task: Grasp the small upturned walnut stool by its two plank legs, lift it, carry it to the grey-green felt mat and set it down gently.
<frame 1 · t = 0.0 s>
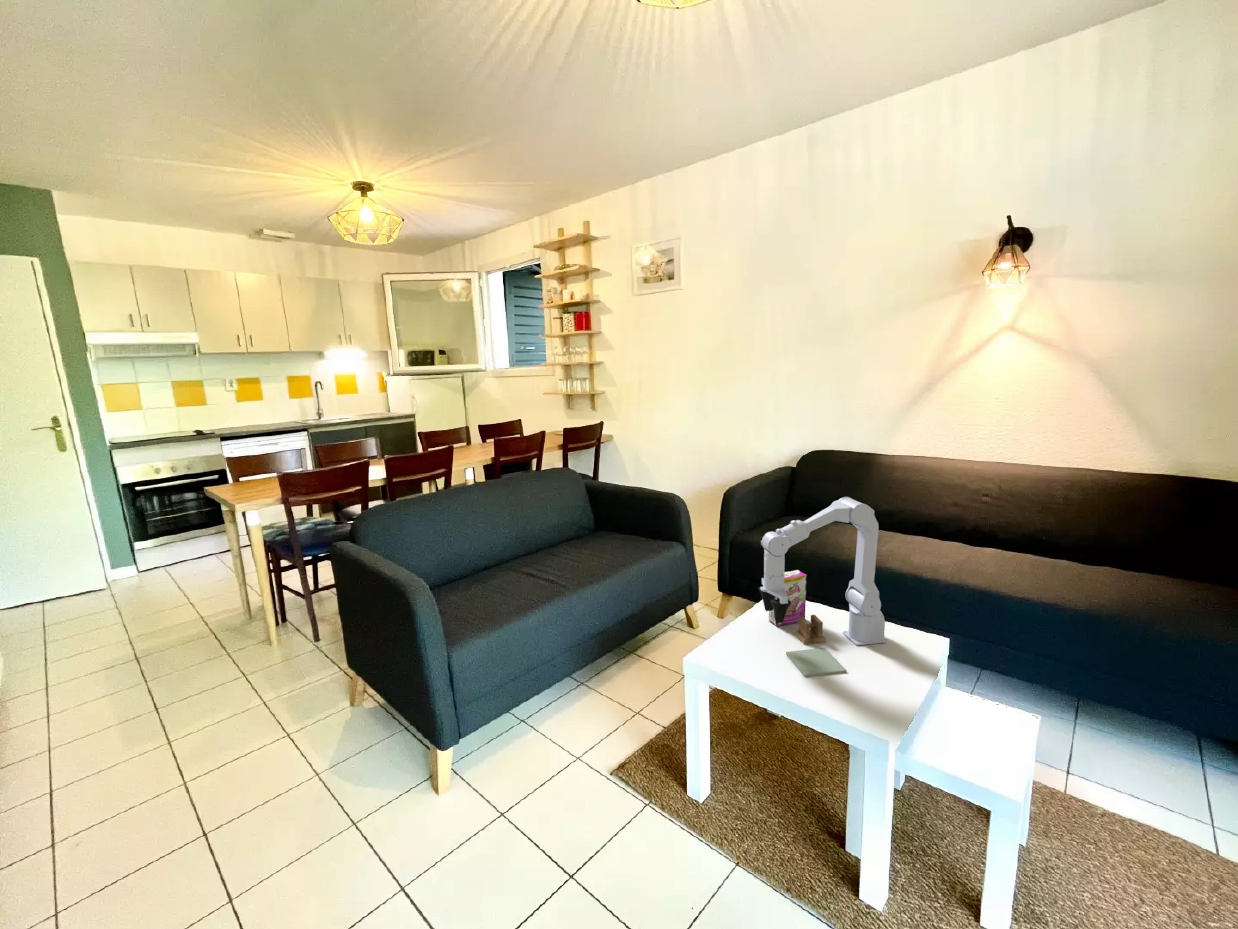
hand: (774, 616, 156), 10 cm above the table, fingers open, 7 cm apart
mat: (815, 662, 149), on the table
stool: (810, 638, 162), on the table
candy bar box: (787, 621, 173), on the table
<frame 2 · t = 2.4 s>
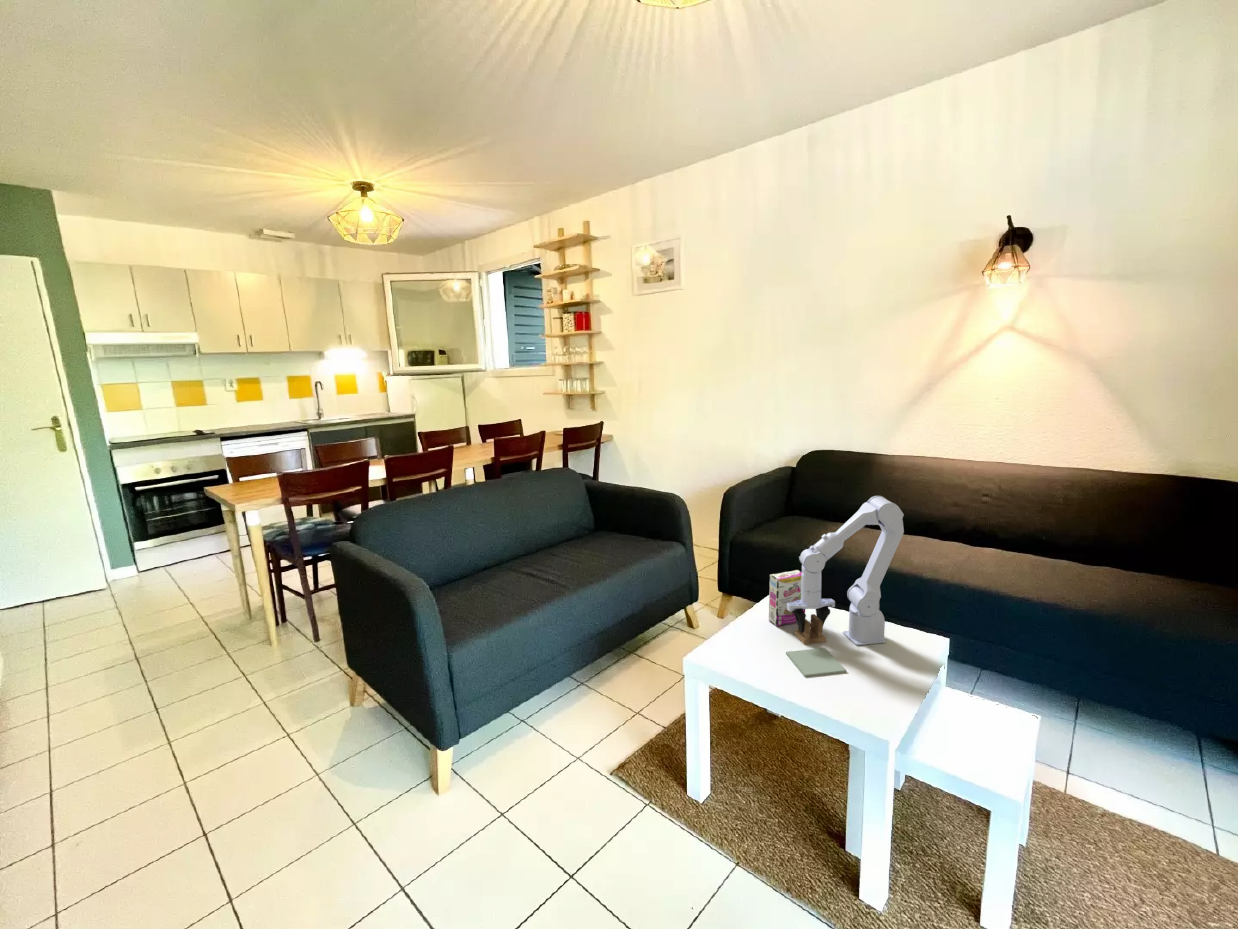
hand: (810, 630, 161), 3 cm above the table, fingers closed on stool, 5 cm apart
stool: (810, 638, 162), on the table, touching gripper
everything else where it was.
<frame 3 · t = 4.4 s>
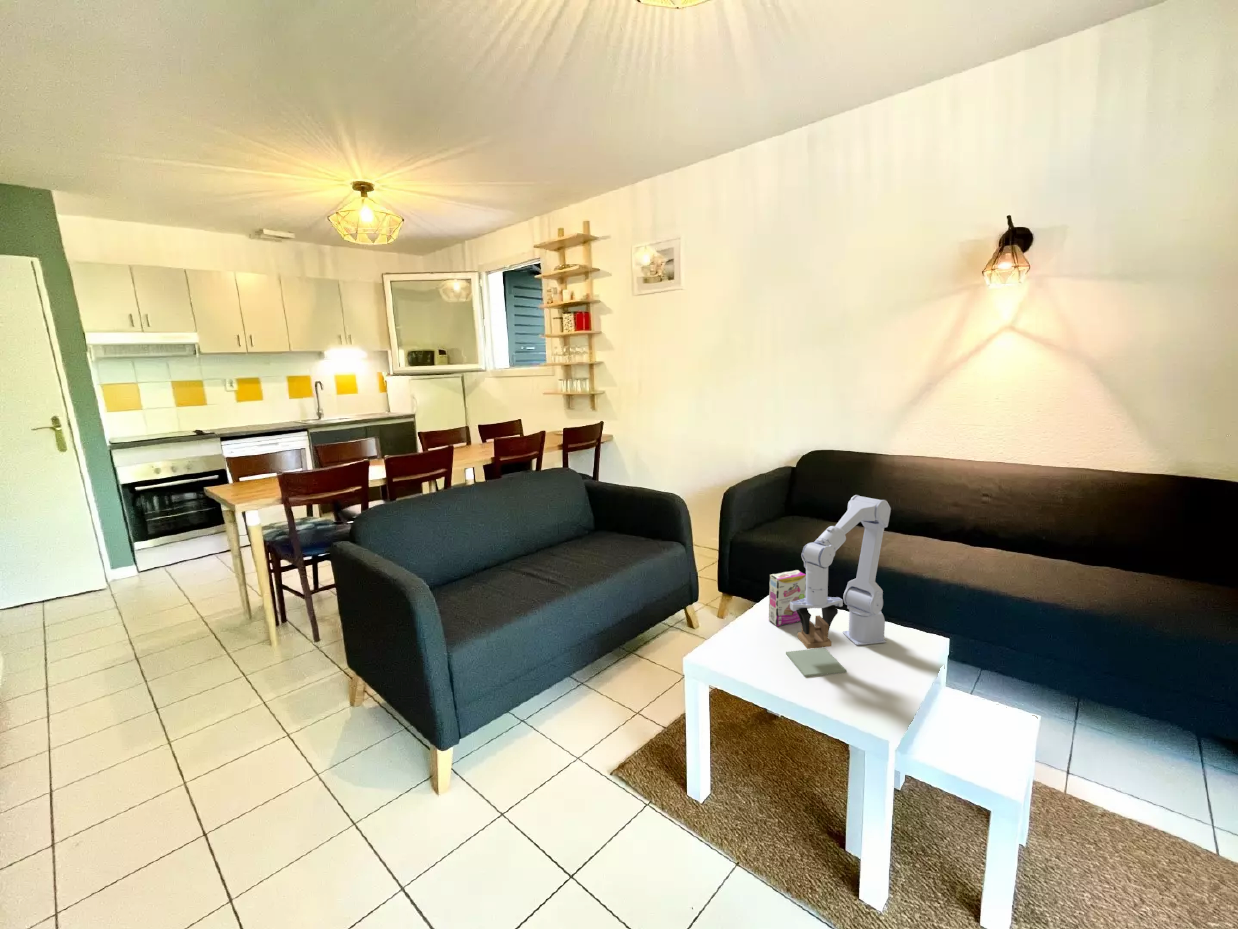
hand: (815, 631, 147), 9 cm above the table, fingers closed on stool, 5 cm apart
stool: (814, 641, 148), point 6 cm above the table, touching gripper
everything else where it was.
when the fingers open (4 cm above the table, at t = 6.4 s): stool stays where it is, resting on mat.
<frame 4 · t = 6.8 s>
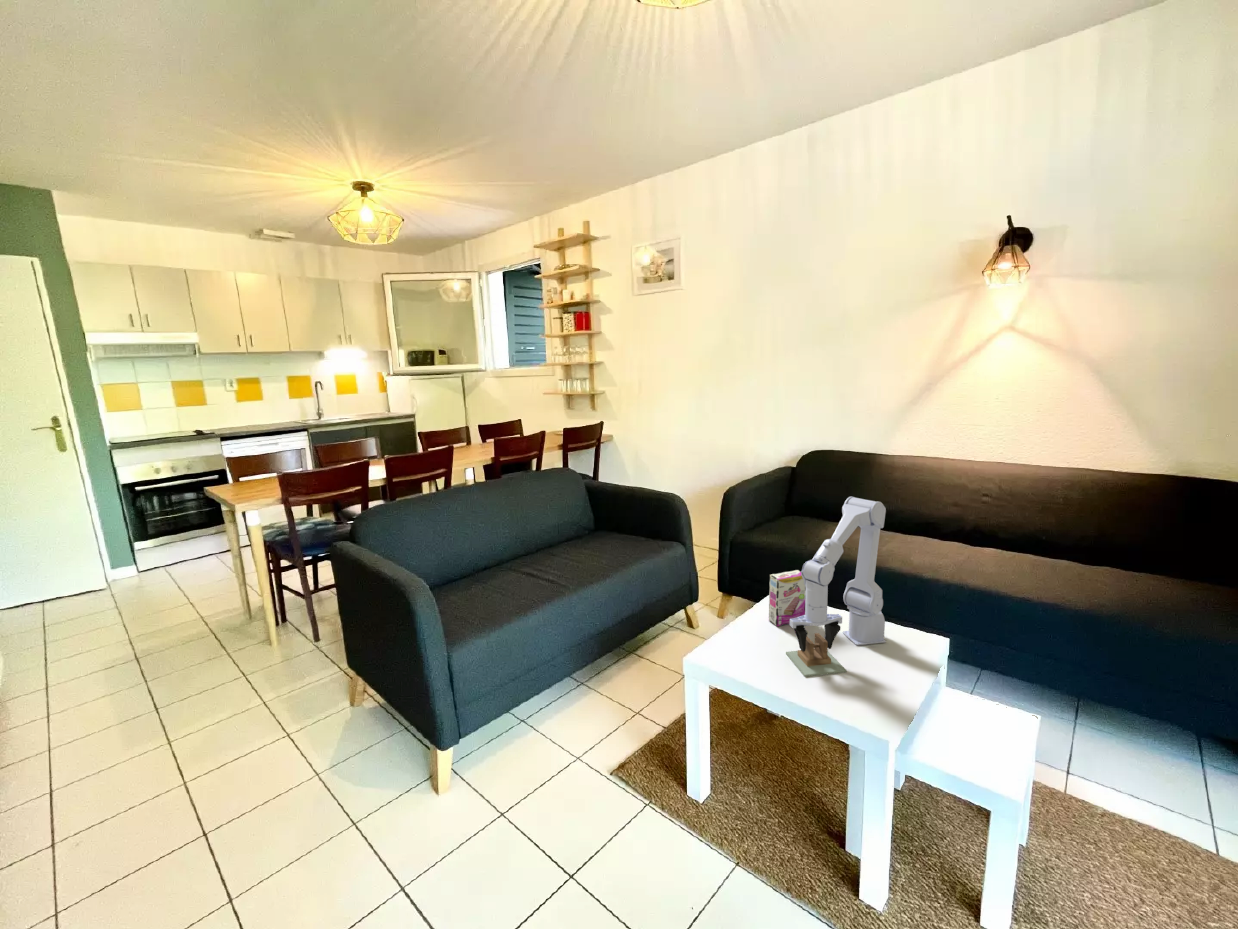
hand: (815, 648, 148), 4 cm above the table, fingers open, 7 cm apart
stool: (813, 659, 149), point 1 cm above the table, touching mat
everything else where it was.
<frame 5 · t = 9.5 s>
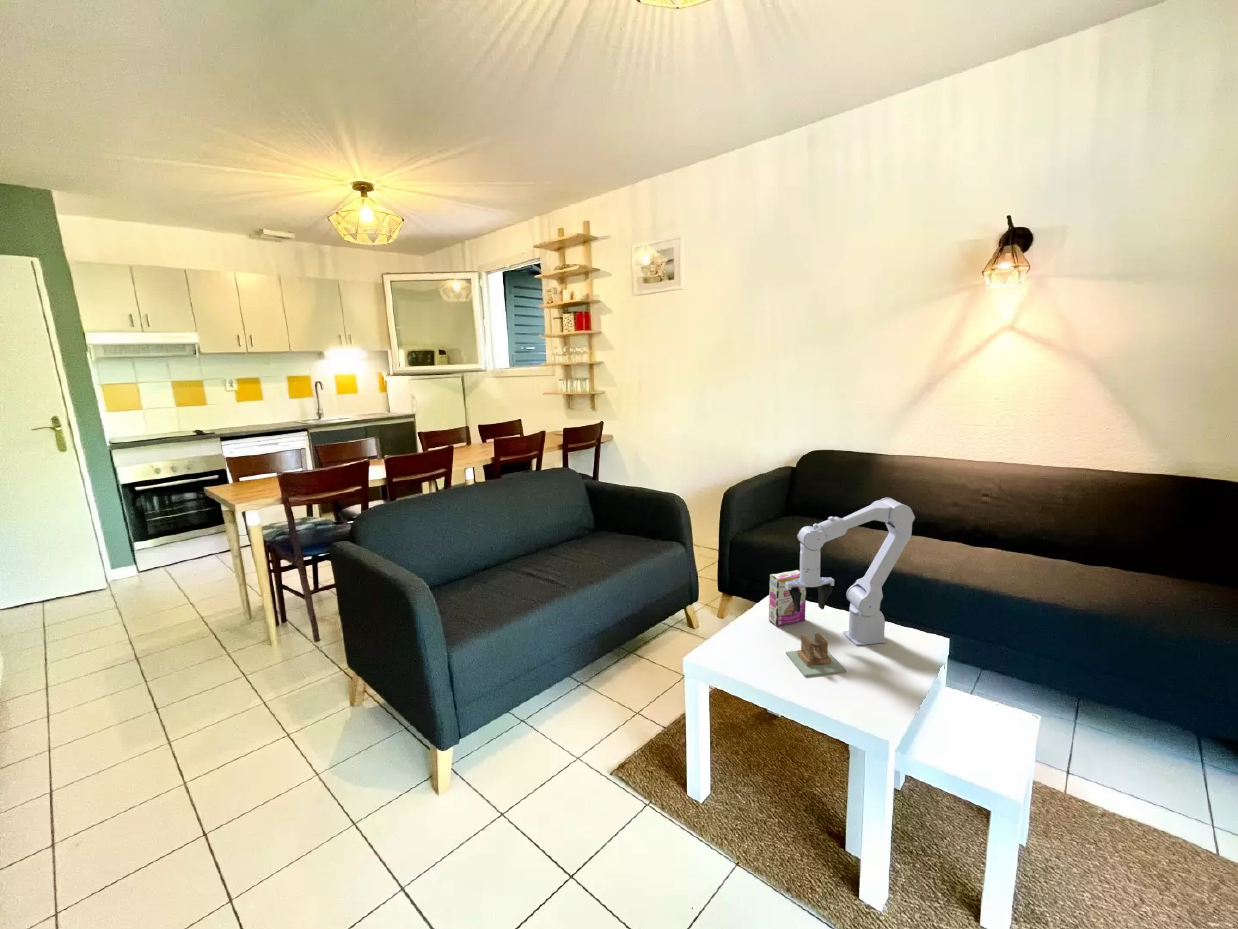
hand: (809, 609, 159), 10 cm above the table, fingers open, 7 cm apart
nothing on the table moved.
at the end: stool inside the target area on the mat (0.7 cm from its centre), point 0.6 cm above the mat's base; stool tilted 0°; the gripper is holding nothing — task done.
